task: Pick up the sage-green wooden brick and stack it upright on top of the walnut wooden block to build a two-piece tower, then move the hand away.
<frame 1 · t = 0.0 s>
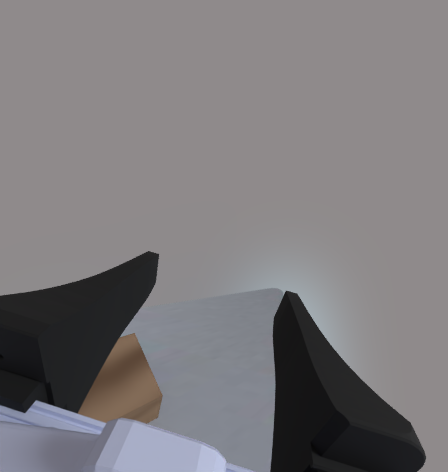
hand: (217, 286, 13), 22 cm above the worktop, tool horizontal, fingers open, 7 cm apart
walnut block: (103, 401, 26), on the worktop
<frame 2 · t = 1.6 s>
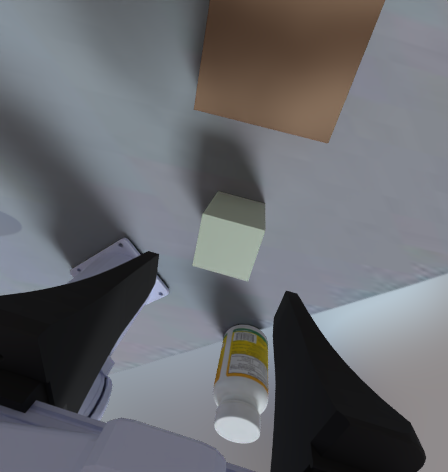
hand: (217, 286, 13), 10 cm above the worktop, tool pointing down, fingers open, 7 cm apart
walnut block: (279, 58, 17), on the worktop
supplement bottle: (245, 338, 29), on the worktop
sage brick: (235, 219, 23), on the worktop
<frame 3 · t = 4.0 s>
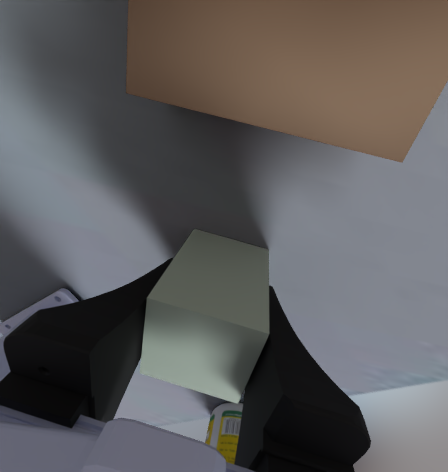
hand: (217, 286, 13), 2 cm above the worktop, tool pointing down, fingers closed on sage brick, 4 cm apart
supplement bottle: (240, 416, 21), on the worktop
sage brick: (222, 269, 15), on the worktop, touching gripper
when the fingers open (7 cm above the worktop, at t = 10.2 s): sage brick drops 2 cm, resting on walnut block.
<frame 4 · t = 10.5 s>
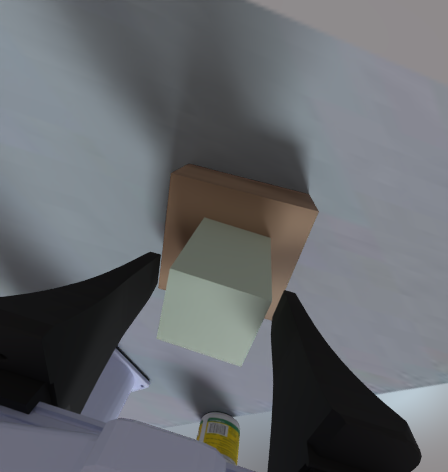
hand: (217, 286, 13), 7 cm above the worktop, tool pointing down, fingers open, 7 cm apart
walnut block: (234, 231, 20), on the worktop, touching sage brick
supplement bottle: (220, 421, 32), on the worktop
sage brick: (228, 255, 16), point 4 cm above the worktop, touching walnut block
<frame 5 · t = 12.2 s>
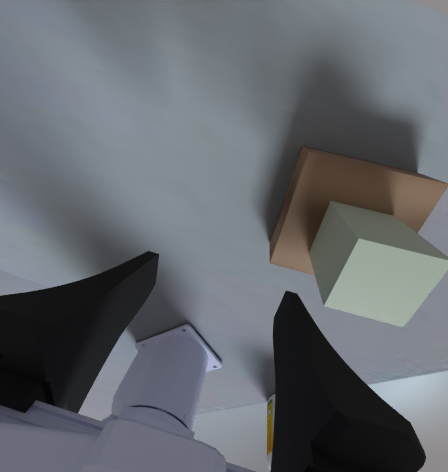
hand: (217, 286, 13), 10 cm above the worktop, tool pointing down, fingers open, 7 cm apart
walnut block: (334, 210, 21), on the worktop
supplement bottle: (286, 401, 33), on the worktop
sage brick: (348, 235, 18), point 4 cm above the worktop
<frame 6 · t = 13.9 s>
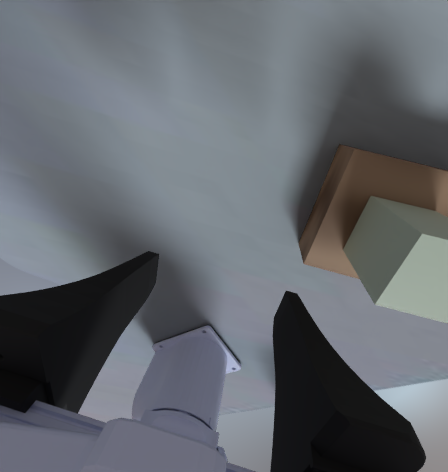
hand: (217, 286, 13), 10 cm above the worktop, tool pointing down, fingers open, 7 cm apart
walnut block: (367, 210, 21), on the worktop, touching sage brick
sage brick: (386, 231, 17), point 4 cm above the worktop, touching walnut block
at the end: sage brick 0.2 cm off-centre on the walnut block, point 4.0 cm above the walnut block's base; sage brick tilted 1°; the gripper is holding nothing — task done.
